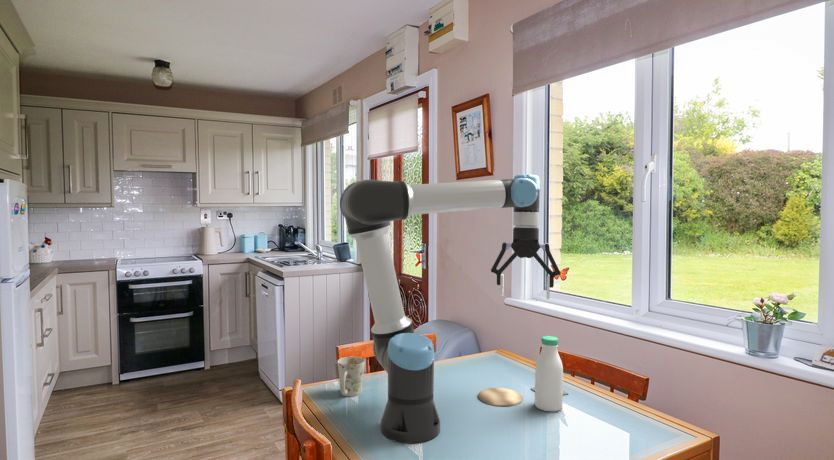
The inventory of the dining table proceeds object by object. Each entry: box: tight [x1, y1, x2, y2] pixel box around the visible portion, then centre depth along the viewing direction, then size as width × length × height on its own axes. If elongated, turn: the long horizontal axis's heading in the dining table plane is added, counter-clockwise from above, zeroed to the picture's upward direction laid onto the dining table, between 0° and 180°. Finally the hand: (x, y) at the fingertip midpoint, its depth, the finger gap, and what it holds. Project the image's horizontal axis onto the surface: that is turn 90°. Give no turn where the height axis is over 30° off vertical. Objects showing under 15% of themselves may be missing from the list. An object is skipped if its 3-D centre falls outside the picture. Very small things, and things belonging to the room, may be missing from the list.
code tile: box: [530, 387, 569, 396], centre depth 153 cm, size 8×8×1 cm
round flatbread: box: [477, 387, 524, 407], centre depth 148 cm, size 13×13×1 cm
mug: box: [336, 356, 366, 398], centre depth 148 cm, size 8×13×10 cm, turn 174°
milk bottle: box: [534, 335, 564, 413], centre depth 141 cm, size 8×8×20 cm
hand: (524, 297), depth 149 cm, fingers open, 13 cm apart
